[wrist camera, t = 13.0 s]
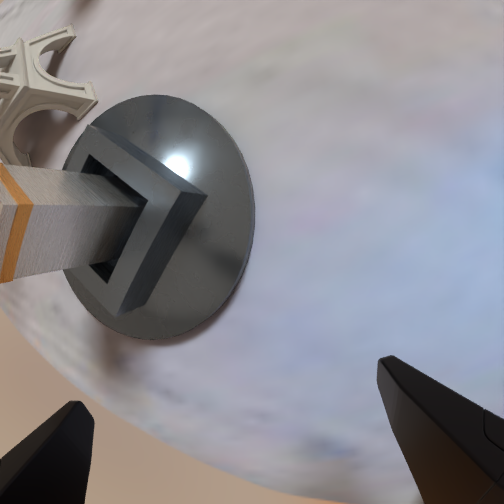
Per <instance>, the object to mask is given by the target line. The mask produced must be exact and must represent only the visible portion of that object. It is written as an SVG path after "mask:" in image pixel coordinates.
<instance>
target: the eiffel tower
mask: <svg viewBox="0 0 504 504" xmlns="http://www.w3.org/2000/svg"><path fill="white" fill-rule="evenodd" d="M75 37H76V34H75V31H74V27H73V24H70V25H69V26H67V27H64V28H61V29H58V30H55V31H52V32H49V33H47V34H44V35H41V36H39V37H36V38H34V39H31V40H29V41H26V42H23V40H22V39H21V38H19V39H18V40H17V41H16V42H15V44H14V45H13V46H9V47H4V48H0V158H1V160H2V161H3V163H4V164H6V165H16V166H26V167H32V165H31V161H30V157H29V153H27V154H26V155H24V154H22V153H21V152H20V151H19V150H18V149H17V147H16V146H15V144H14V142H13V135H14V132H15V129H16V127H17V126H18V124H19V123H20V122H21V120H23V119H24V118H25V117H26V116H28V115H29V114H31V113H34V112H36V111H40V110H47V109H54V110H61V111H65V112H68V113H70V114H73V115H75V116H76V118H77V120H80V119H81V118H82V117H83V116H84V115H85V114H86V113H87V112H88V111H89V110H90V109H91V108H92V107H93V106H94V105H95V104H96V103H97V102H98V98H97V96H96V93H95V90H94V87H93V85H92V82H91V81H89V82H88V83H73V82H67V81H63V80H60V79H57V78H55V77H53V76H51V75H49V74H48V73H46V72H45V71H44V70H43V69H42V67H41V66H40V63H39V56H40V55H42V54H43V53H45V52H48V51H52V50H57V51H58V53H61V52H62V51H63V50H64V49H65V48H66V46H67V45H68V44H69V43H70V42H71V41H72V40H73V39H74V38H75Z"/></svg>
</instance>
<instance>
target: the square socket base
mask: <svg viewBox="0 0 504 504" xmlns="http://www.w3.org/2000/svg"><path fill="white" fill-rule="evenodd" d="M62 171H70V172H78V173H86V174H94V175H101V176H108V177H115V178H121V179H122V180H123V181H124V182H126V183H127V184H128V185H129V186H131V187H132V188H133V189H134V190H136V191H137V192H138V193H140V194H141V195H142V196H143V197H145V198H146V199H147V200H148V202H147V204H146V206H145V208H144V210H143V212H142V214H141V215H140V217H139V219H138V221H137V223H136V225H135V227H134V229H133V231H132V233H131V235H130V237H129V239H128V241H127V243H126V245H125V247H124V249H123V251H122V254H121V256H120V258H119V259H116V260H111V261H105V262H100V263H95V264H89V265H84V266H79V267H74V268H68V269H63V271H64V274H65V276H66V279H67V280H68V282H69V284H70V286H71V288H72V290H73V291H74V293H75V294H76V296H77V297H78V299H79V300H80V302H81V303H82V304H83V305H84V306H85V308H86V309H87V310H88V311H89V312H90V313H91V314H92V315H93V316H94V317H95V318H96V319H98V320H99V321H100V322H102V323H103V324H105V325H106V326H108V327H109V328H111V329H113V330H115V331H117V332H119V333H121V334H124V335H127V336H130V337H134V338H139V339H150V340H156V339H165V338H170V337H173V336H177V335H180V334H182V333H184V332H187V331H189V330H191V329H193V328H194V327H196V326H197V325H199V324H200V323H202V322H203V321H204V320H206V319H207V318H209V317H210V316H211V315H213V314H214V313H215V312H216V311H217V310H218V309H219V308H220V307H221V306H222V305H223V304H224V302H225V301H226V300H227V299H228V297H229V296H230V295H231V294H232V292H233V290H234V289H235V287H236V285H237V283H238V282H239V280H240V278H241V276H242V274H243V271H244V269H245V266H246V264H247V262H248V258H249V254H250V250H251V247H252V242H253V235H254V228H255V202H254V193H253V186H252V182H251V178H250V175H249V171H248V168H247V165H246V163H245V160H244V158H243V156H242V153H241V151H240V150H239V148H238V146H237V145H236V143H235V141H234V139H233V138H232V137H231V136H230V134H229V133H228V132H227V131H226V129H225V128H224V127H223V126H222V125H221V124H220V123H219V122H218V121H217V120H216V119H214V118H213V117H212V116H211V115H209V114H208V113H207V112H205V111H204V110H202V109H200V108H199V107H197V106H196V105H194V104H192V103H190V102H187V101H185V100H183V99H180V98H176V97H172V96H167V95H146V96H139V97H135V98H131V99H128V100H126V101H123V102H121V103H119V104H117V105H115V106H113V107H111V108H110V109H108V110H106V111H105V112H104V113H103V114H101V115H100V116H99V117H97V118H96V119H95V120H94V121H93V122H92V123H91V124H90V125H87V127H86V129H85V131H84V132H83V133H82V134H81V136H80V137H79V138H78V140H77V141H76V143H75V144H74V146H73V148H72V149H71V151H70V153H69V155H68V157H67V159H66V161H65V164H64V166H63V169H62Z"/></svg>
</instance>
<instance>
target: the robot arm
mask: <svg viewBox="0 0 504 504" xmlns="http://www.w3.org/2000/svg"><path fill="white" fill-rule="evenodd" d="M377 385H378V388H379V391H380V394H381V397H382V400H383V403H384V406H385V410H386V413H387V416H388V419H389V422H390V425H391V428H392V431H393V433H394V435H395V438H396V440H397V442H398V444H399V446H400V448H401V451H402V453H403V455H404V457H405V459H406V462H407V464H408V466H409V468H410V471H411V473H412V475H413V478H414V480H415V482H416V484H417V487H418V489H419V491H420V494H421V496H422V498H423V501H424V503H425V504H504V419H503V418H501V417H499V416H497V415H495V414H493V413H492V412H490V411H488V410H486V409H483V407H481V406H479V405H477V404H476V403H474V402H472V401H470V400H469V399H467V398H465V397H463V396H462V395H460V394H458V393H457V392H455V391H453V390H451V389H450V388H448V387H446V386H444V385H443V384H441V383H439V382H438V381H436V380H434V379H432V378H431V377H429V376H427V375H426V374H424V373H422V372H420V371H419V370H417V369H415V368H414V367H412V366H410V365H409V364H407V363H405V362H403V361H402V360H400V359H398V358H397V357H395V356H393V355H390V356H386V357H383V358H380V359H379V360H378V367H377ZM93 434H94V419H93V417H92V415H91V414H90V413H89V411H88V410H87V408H86V407H85V405H84V404H83V403H82V402H81V401H69V402H68V403H66V404H65V405H64V406H63V407H62V408H61V409H59V410H58V411H57V412H56V413H55V414H53V415H52V416H51V417H50V418H49V419H47V420H46V421H45V422H44V423H42V424H41V425H40V426H39V427H38V428H37V429H35V430H34V431H33V432H32V433H31V434H29V435H28V436H27V437H26V438H25V439H24V440H22V441H21V442H20V443H19V444H17V445H16V446H15V447H14V448H13V449H11V450H10V451H9V452H8V453H7V454H6V455H4V456H3V457H2V458H1V459H0V504H84V503H85V495H86V490H87V483H88V476H89V471H90V465H91V457H92V445H93Z"/></svg>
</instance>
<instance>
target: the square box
mask: <svg viewBox="0 0 504 504" xmlns="http://www.w3.org/2000/svg"><path fill="white" fill-rule="evenodd" d="M147 202H148V200H147V199H146V198H145V197H143V196H142V195H141V194H140V193H138V192H137V191H136V190H134V189H133V188H132V187H131V186H129V185H128V184H127V183H126V182H124V181H123V180H122V179H121V178H115V177H108V176H101V175H94V174H86V173H78V172H70V171H62V170H54V169H45V168H36V167H26V166H16V165H6V164H2V163H0V283H5V282H10V281H13V279H17V278H22V277H27V276H32V275H37V274H42V273H48V272H53V271H58V270H63V269H68V268H74V267H79V266H84V265H89V264H95V263H100V262H105V261H111V260H116V259H119V258H120V256H121V254H122V251H123V249H124V247H125V245H126V243H127V241H128V239H129V237H130V235H131V233H132V231H133V229H134V227H135V225H136V223H137V221H138V219H139V217H140V215H141V214H142V212H143V210H144V208H145V206H146V204H147Z"/></svg>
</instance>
